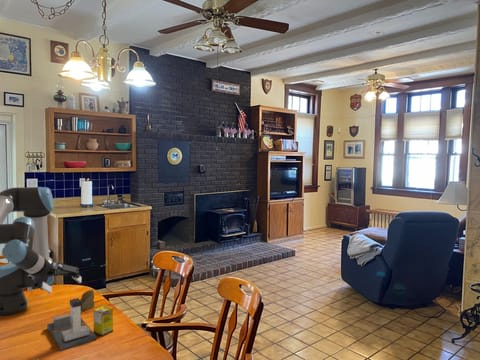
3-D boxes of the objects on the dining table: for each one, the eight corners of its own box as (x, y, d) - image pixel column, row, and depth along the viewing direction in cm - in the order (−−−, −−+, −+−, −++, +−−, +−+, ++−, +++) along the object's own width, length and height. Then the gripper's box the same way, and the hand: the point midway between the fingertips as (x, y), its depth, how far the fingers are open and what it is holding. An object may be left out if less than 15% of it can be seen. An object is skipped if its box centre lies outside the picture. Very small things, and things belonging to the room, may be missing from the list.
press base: (47, 328, 164) (46, 317, 164) (79, 320, 173) (79, 309, 173) (60, 350, 146) (60, 338, 146) (95, 339, 155) (95, 328, 155)
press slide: (61, 337, 152) (61, 301, 151) (86, 330, 158) (85, 296, 157) (64, 342, 148) (64, 305, 147) (89, 334, 155) (89, 299, 154)
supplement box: (113, 331, 163) (113, 307, 162) (102, 336, 157) (102, 312, 157) (104, 328, 166) (104, 304, 165) (93, 333, 160) (93, 309, 160)
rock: (76, 311, 178) (97, 304, 183) (72, 294, 181) (93, 288, 187) (75, 317, 186) (95, 310, 191) (71, 301, 189) (91, 295, 195)
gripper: (4, 284, 140) (37, 302, 157) (66, 263, 141) (93, 283, 158) (6, 267, 145) (39, 286, 161) (66, 247, 146) (92, 268, 162)
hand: (65, 285), depth 159 cm, fingers open, 13 cm apart
